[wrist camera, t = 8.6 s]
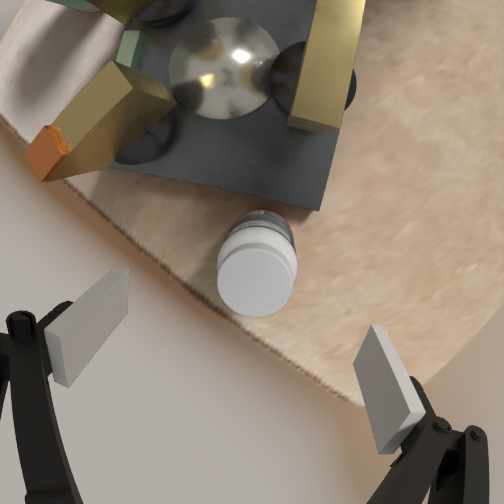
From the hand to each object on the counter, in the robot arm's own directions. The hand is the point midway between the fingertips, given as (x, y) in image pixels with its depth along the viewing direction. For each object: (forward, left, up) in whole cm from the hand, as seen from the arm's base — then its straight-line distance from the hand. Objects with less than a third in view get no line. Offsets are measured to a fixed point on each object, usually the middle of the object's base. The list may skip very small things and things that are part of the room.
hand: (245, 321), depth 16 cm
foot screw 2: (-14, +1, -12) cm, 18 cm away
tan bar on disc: (-8, -12, -12) cm, 19 cm away
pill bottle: (0, 0, -14) cm, 14 cm away
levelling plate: (-14, -6, -14) cm, 21 cm away
